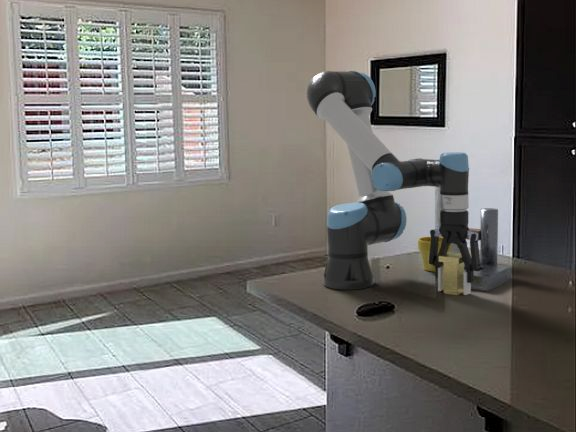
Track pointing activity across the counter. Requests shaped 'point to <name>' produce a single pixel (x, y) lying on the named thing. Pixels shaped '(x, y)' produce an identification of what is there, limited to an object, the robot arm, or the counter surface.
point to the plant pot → (428, 251)
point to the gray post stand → (488, 254)
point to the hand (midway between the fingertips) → (454, 291)
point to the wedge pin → (453, 273)
